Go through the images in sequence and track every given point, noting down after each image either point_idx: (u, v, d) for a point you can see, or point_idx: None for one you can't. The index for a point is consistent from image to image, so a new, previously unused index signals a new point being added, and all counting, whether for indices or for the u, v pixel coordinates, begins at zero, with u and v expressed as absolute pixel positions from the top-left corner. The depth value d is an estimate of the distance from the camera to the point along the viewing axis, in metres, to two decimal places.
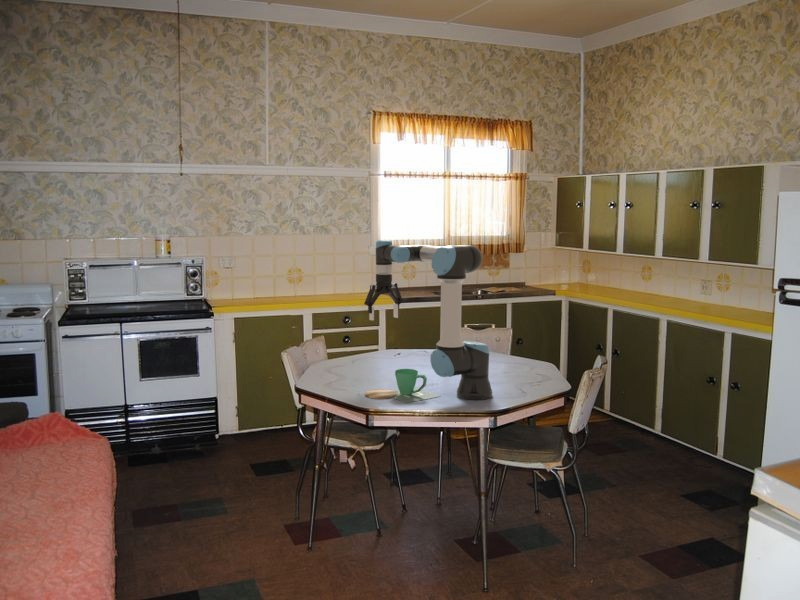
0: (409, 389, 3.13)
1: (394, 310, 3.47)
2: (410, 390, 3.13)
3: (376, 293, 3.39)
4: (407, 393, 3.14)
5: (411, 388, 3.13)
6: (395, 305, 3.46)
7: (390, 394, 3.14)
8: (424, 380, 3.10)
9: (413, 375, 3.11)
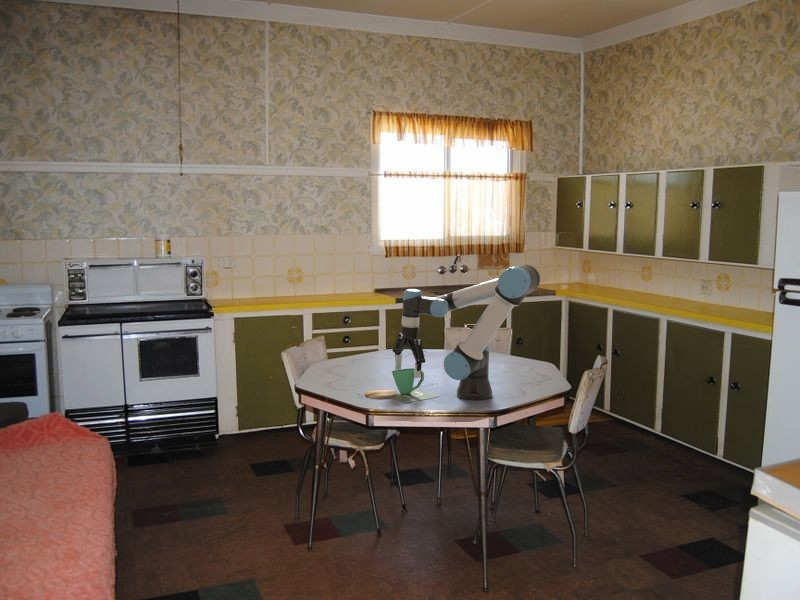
0: (407, 386, 3.13)
1: None
2: (409, 387, 3.14)
3: None
4: (407, 391, 3.14)
5: (410, 385, 3.14)
6: None
7: (390, 394, 3.14)
8: (421, 374, 3.11)
9: (410, 371, 3.13)
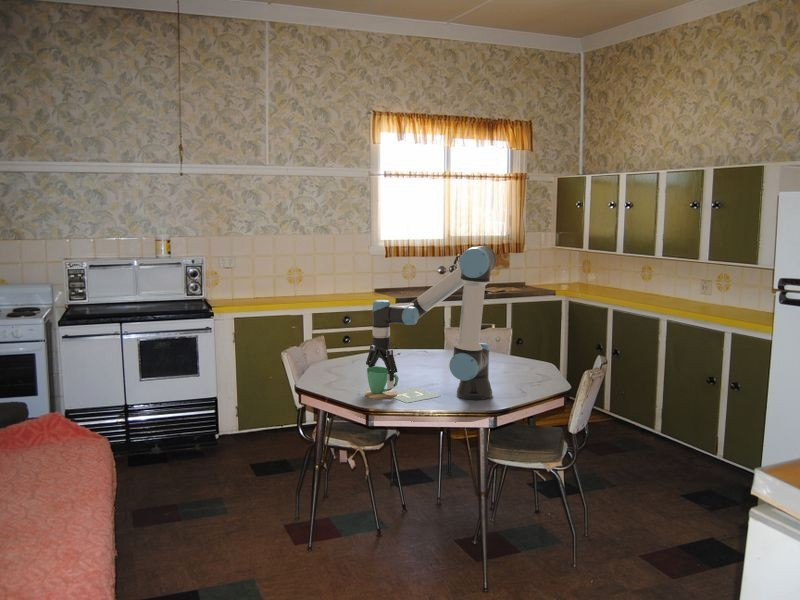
0: (380, 388, 3.14)
1: None
2: (381, 388, 3.14)
3: None
4: (378, 391, 3.14)
5: (382, 387, 3.14)
6: None
7: (390, 394, 3.14)
8: (396, 380, 3.11)
9: (385, 374, 3.12)
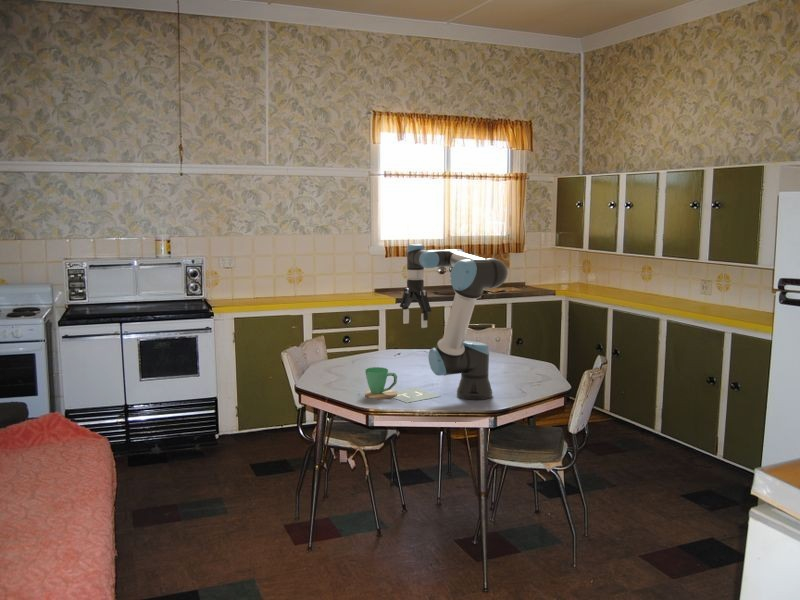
0: (379, 387, 3.14)
1: None
2: (381, 388, 3.14)
3: None
4: (378, 391, 3.14)
5: (382, 386, 3.14)
6: None
7: (390, 394, 3.14)
8: (395, 378, 3.11)
9: (383, 373, 3.12)
